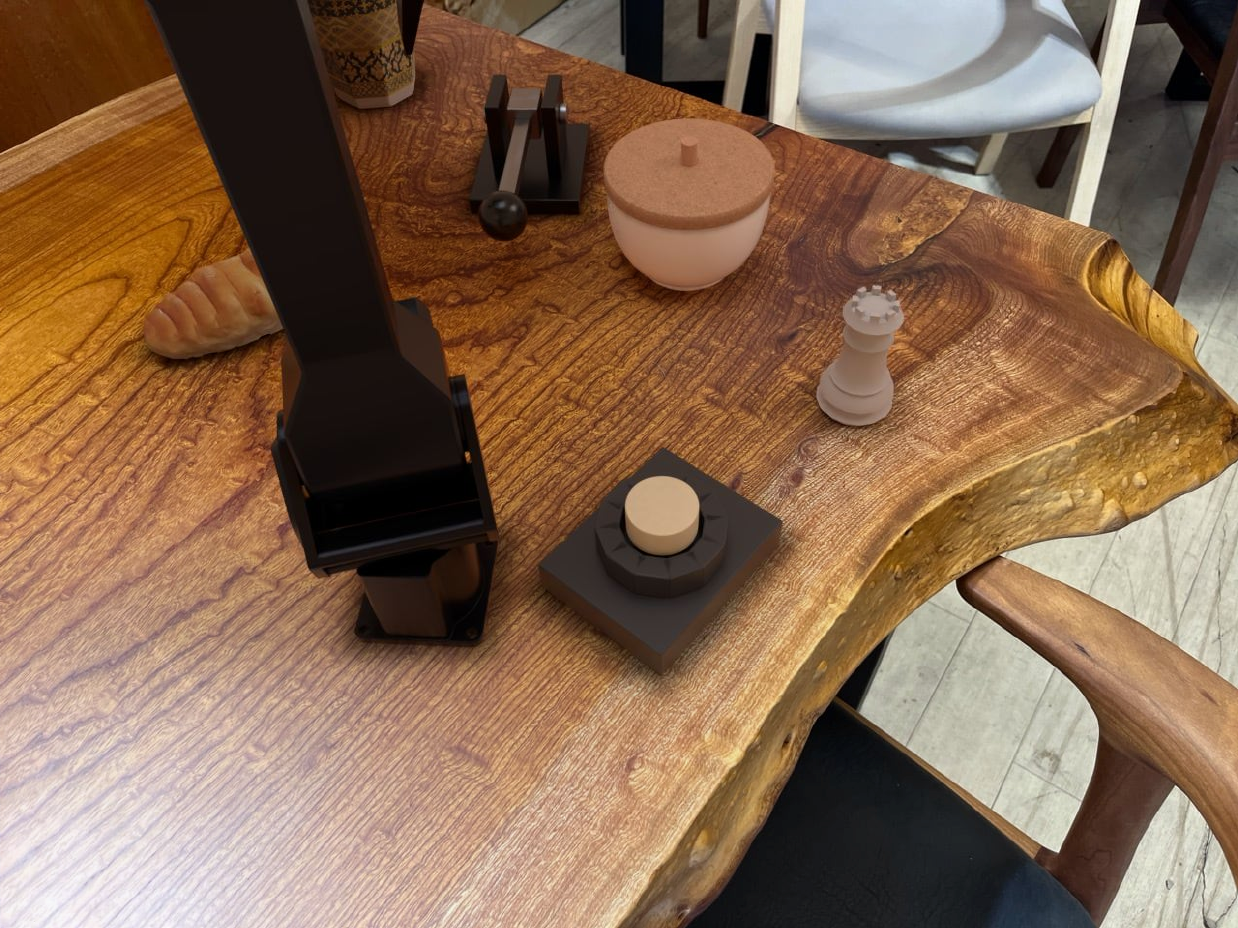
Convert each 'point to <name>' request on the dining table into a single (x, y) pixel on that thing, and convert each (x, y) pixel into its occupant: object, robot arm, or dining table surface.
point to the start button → (662, 515)
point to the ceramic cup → (364, 51)
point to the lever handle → (513, 168)
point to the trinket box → (688, 199)
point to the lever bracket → (535, 153)
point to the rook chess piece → (862, 360)
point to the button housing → (660, 566)
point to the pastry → (213, 311)
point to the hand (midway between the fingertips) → (331, 64)
